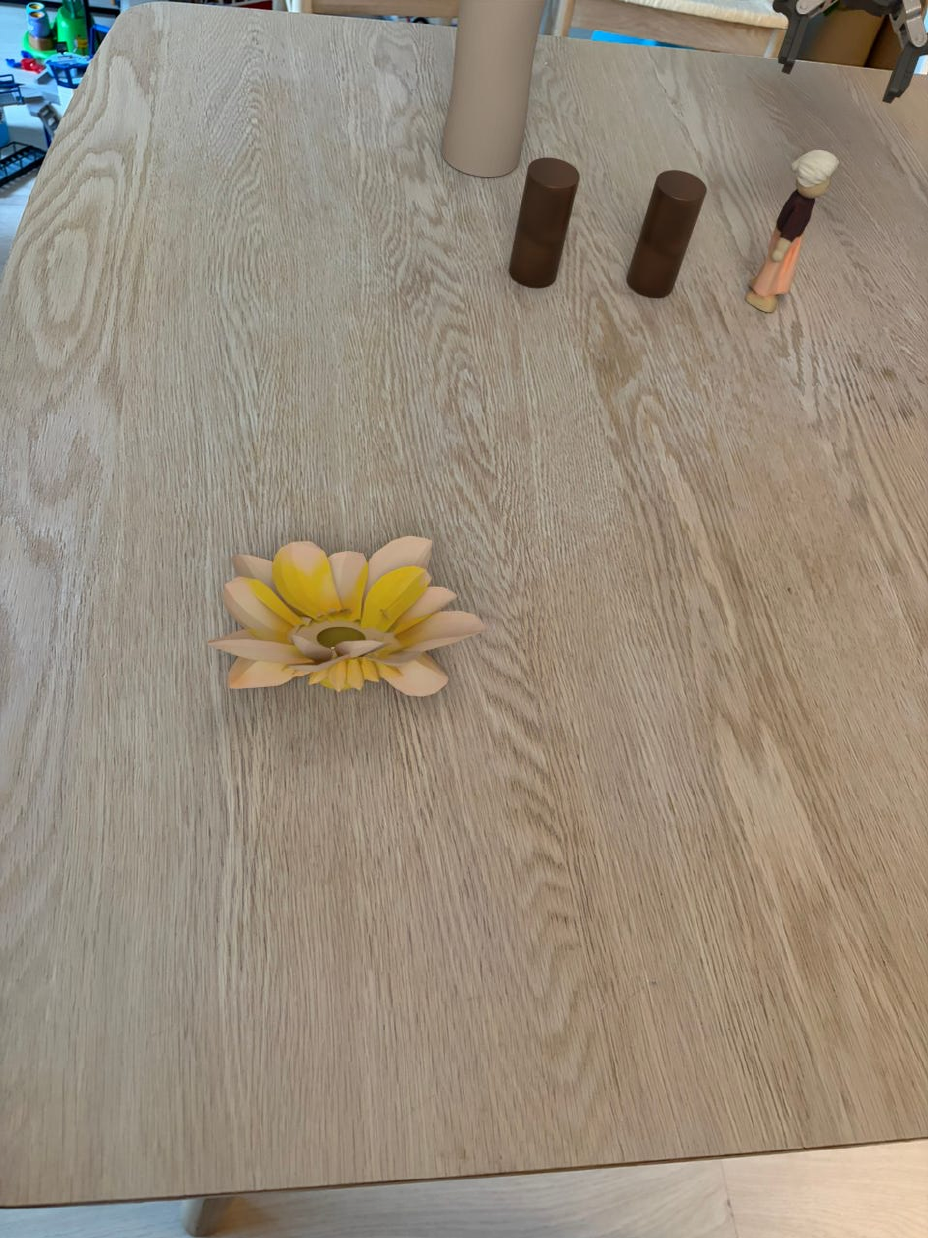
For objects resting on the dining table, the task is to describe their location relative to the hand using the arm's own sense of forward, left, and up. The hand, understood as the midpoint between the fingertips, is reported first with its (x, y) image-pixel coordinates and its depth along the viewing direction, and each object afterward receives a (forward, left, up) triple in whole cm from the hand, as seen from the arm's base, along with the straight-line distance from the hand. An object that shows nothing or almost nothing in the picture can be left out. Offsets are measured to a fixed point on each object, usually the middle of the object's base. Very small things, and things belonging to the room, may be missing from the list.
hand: (837, 84), depth 84 cm
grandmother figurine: (+4, +10, -13) cm, 17 cm away
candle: (+27, -9, -13) cm, 31 cm away
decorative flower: (+38, +49, -13) cm, 63 cm away
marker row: (+19, +11, -13) cm, 25 cm away
